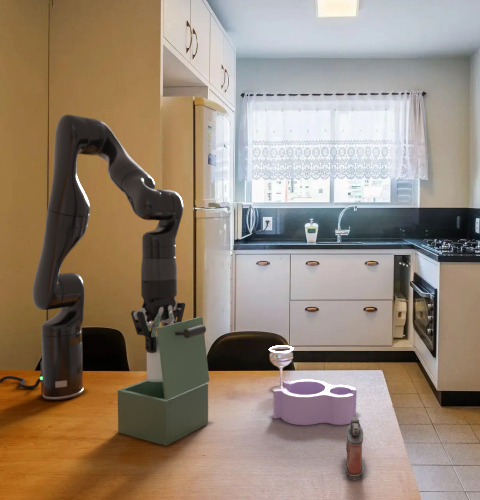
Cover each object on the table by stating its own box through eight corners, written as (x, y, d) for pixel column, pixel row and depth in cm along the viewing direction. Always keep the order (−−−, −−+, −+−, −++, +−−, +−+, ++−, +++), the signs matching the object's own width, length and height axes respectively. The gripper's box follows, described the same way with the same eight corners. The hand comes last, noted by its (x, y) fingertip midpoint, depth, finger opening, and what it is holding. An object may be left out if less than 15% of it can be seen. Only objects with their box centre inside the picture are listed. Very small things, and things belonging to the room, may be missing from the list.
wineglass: (266, 387, 143) (267, 346, 142) (289, 384, 146) (290, 344, 145) (271, 395, 137) (271, 353, 136) (295, 392, 139) (295, 351, 138)
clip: (359, 409, 128) (359, 383, 128) (348, 429, 116) (349, 401, 116) (286, 402, 132) (286, 377, 131) (268, 421, 119) (269, 394, 119)
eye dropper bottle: (161, 384, 111) (161, 332, 110) (143, 380, 113) (143, 329, 113) (176, 379, 115) (176, 328, 114) (158, 375, 117) (158, 326, 117)
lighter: (345, 458, 102) (346, 412, 102) (361, 458, 103) (362, 412, 102) (346, 479, 94) (347, 429, 94) (363, 479, 95) (364, 429, 94)
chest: (118, 432, 112) (117, 390, 111) (162, 412, 124) (162, 373, 123) (166, 446, 106) (166, 401, 105) (208, 423, 118) (208, 383, 117)
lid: (156, 327, 105) (174, 327, 103) (199, 316, 117) (216, 316, 115) (164, 399, 105) (182, 400, 103) (206, 381, 117) (224, 381, 115)
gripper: (171, 272, 120) (171, 340, 122) (120, 278, 107) (121, 355, 109) (194, 274, 118) (194, 344, 119) (145, 281, 104) (146, 360, 106)
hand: (159, 349), depth 114 cm, fingers closed on eye dropper bottle, 4 cm apart
